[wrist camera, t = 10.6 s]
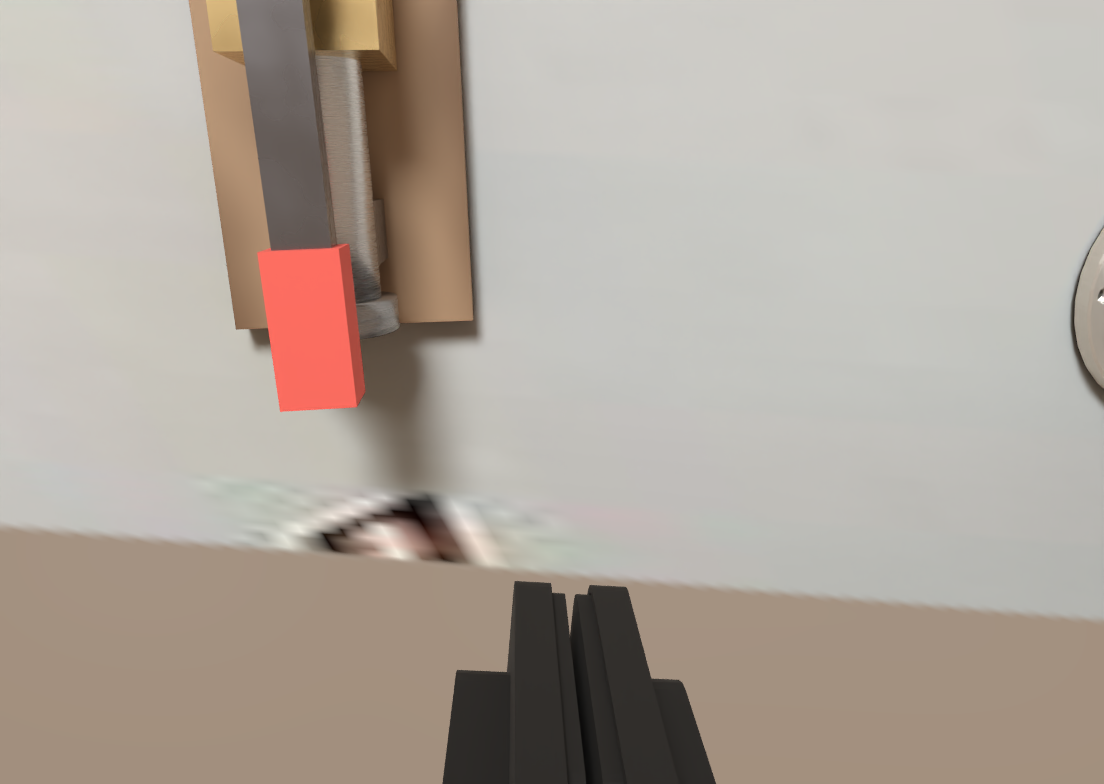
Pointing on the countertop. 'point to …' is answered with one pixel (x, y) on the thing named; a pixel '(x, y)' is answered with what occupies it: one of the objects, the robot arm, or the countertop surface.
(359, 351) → the valve lever
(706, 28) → the countertop surface
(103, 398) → the countertop surface
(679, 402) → the countertop surface
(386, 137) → the valve board
